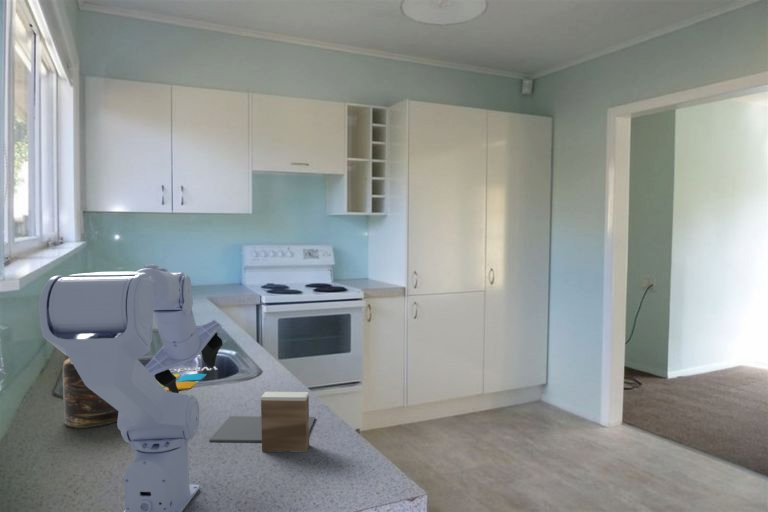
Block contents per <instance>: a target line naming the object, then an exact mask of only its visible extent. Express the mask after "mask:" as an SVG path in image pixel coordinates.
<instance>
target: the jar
mask: <svg viewBox="0 0 768 512" xmlns="http://www.w3.org/2000/svg"><path fill="white" fill-rule="evenodd" d="M62 397H63V415H64V425H66V426H67V427H70V428H77V429H84V428H85V429H86V428H97V427H102V426H106V425H107V426H108V425H110V424H114V423H117V420H118V413H119V411H118V410H116V409H115V408H114V407H113V406H111V405H110V404H109V403H107V402H106V401H105V400H103V399H102V398H101V397H99V396H98V395H97V394H95V393H94V392H93V391H92V390H90V389H89V388H88V387H87V386H86V385H85V384H84V382H83V381H82V379H81V377H80V375H79V374H78V372H77V370H76V369H75V367H74V365H73V363H72V362H71V360H70V358H69V357H68V358H67V359H65V360H64V361H63V362H62Z"/></svg>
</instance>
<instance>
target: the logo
mask: <svg viewBox="0 0 768 512" xmlns="http://www.w3.org/2000/svg"><path fill="white" fill-rule="evenodd" d="M208 367H209V366H208ZM208 367H207V366H204V367H202V368H201V367H197V366H196V367H194V369H191V367H187V368H185V367H184V368H183V367H182V368H178V369H176V368H170V369H169V370H170V372H171V373H172V374H173V375H174V376H175V377H176V386H177V388H178V391H187V390H191V389H192V388H193V387H195V386H196V384H197V383H198V382H200V381H203V379H204V378H205V377H206V376H207V375H208V374H207V373H199V372H203V371H204V370H206V371H208V372H209V371H212V370H213V369H214V371H218V368H217V367H216V366H215V365H214V367H213V368H212V369H211V368H210V367H209V368H208ZM187 371H188V372H196V371H197V373H185V372H187ZM176 372H177V373H176ZM174 373H175V374H174ZM182 373H184V374H183V375H182ZM180 376H181V377H180ZM177 378H179V379H177ZM159 384H160V383H159ZM160 385H161V384H160ZM161 386H162V387H163V388H164V389H165V390H166V391H167V392H171V391H170V390H169V389H168V387H165V386H163V385H161Z"/></svg>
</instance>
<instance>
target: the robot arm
mask: <svg viewBox="0 0 768 512" xmlns="http://www.w3.org/2000/svg"><path fill="white" fill-rule="evenodd" d="M193 301H194V300H193V294H192V282H191V277H190V275H185V273H184V272H169V271H168V269H167V268H165V267H163V268H160V267H159V265H158V264H157V265H156V264H145V265H144V268H141V269H138V270H137V271H129V270H128V271H97V272H95V271H94V272H84V273H75V274H74V273H73V274H69V275H68V276H64V275H55V276H51V277H50V278H49V279H48V280H47V282H46V283H45V284H44V286H43V287H42V289H41V292H40V294H39V298H38V316H39V325H40V326H39V327H40V330H41V335H42V337H43V338H44V339H45V340H46V341H47V342H49V343H50V344H51V345H52V346H54V347H55V348H56V349H57V350H59V351H60V352H61V353H62V354H64V355H65V356H67V357H68V358H70V360H71V362H72V363H73V365H74V367H75V369H76V370H77V372H78V374H79V375H80V377H81V379H82V381H83V382H84V384H85V385H86V386H87V387H88V388H89V389H90V390H92V391H93V392H94V393H95V394H97V395H98V396H99V397H101V398H102V399H103V400H105V401H106V402H107V403H109V404H110V405H111V406H113V407H114V408H115V409H116V410H118V411H119V413H118V420H117V422H116V425H117V429H118V430H119V431H120V434H121V437H122V439H123V440H124V442H126V443H128V444H130V449H131V450H134V457H133V460H132V462H131V463H130V464H129V466H128V467H127V468H126V471H125V473H124V477H123V478H124V479H123V480H124V482H123V483H124V485H123V486H124V488H123V489H124V509H125V510H124V511H123V512H183V511H184V510H185V508H186V507H187V506H188V504H189V503H190V502H191V500H192V499H193V498H194V497H195V495H196V494H197V493H198V491H199V490H200V488H201V486H200V484H190V456H189V455H190V453H189V441H190V440H192V439H193V438H194V437H195V436H196V435H197V433H198V429H199V425H200V424H199V423H200V403H199V400H198V398H197V397H196V396H195V395H194V394H189V395H188V394H186V393H185V394H184V393H180V392H179V391H180V390H179V391H178V388H177V386H176V381H177V378H176V377H175V376H174V375H173V374H174V373H171V372H170V370H169V369H174V368H175V367H176V368H177V367H179V366H181V365H184V364H187V363H189V362H192V361H193V360H195V359H196V358H197V357H198V356H199V355H200V353H201V356H202V359H203V362H204V364H206V365H207V366H208V367H209V369H210V368H211V369H212V368H213V367H214V366H215V364H216V359H217V355H218V353H219V350H221V347H223V343H224V342H223V340H222V338H221V337H220V336H218V335H220V334H222V333H223V328H222V327H223V326H222V324H220V322H218V321H217V320H216V319H212V320H211V321H209V322H207V323H205V324H202V325H199V326H197V324H196V320H195V317H194V313H193V306H194V303H193ZM154 322H155V325H156V328H157V331H158V334H159V337H160V339H161V343H162V346H161V348H160V349H159V350H158V351H157V352H156V353H155V355H154V356H153V357H152V358H151V359H150V361H148V363H147V364H146V365H144V364H142V362H141V361H140V360H139V359H140V358H142V357H143V356H145V355H147V354H149V353H150V352H151V343H152V341H153V330H154V329H153V327H154V326H153V324H154ZM213 369H214V368H213ZM213 369H212V370H213ZM159 383H160V384H161V385H163V386H165V387H164V388H163V387H162V386H161V385H160V384H159ZM167 387H168V389H169V390H170V391H166V390H165V389H166V388H167Z"/></svg>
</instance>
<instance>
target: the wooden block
mask: <svg viewBox="0 0 768 512" xmlns="http://www.w3.org/2000/svg"><path fill="white" fill-rule="evenodd" d="M309 402H310V401H309V391H264V393H263V394H262V395H261V397H260V407H261V409H260V411H261V414H260V417H261V425H262V442H261V452H262V451H264V452H265V451H271V452H270V453H277V452H278V451H281V452H280V453H288V452H287V451H301V452H300V453H307V452H308V449H309V447H310V432H309V417H310V412H309V411H310V404H309ZM308 446H309V447H308ZM272 451H274V452H272ZM275 451H276V452H275ZM283 451H284V452H283ZM285 451H286V452H285ZM303 451H304V452H303ZM306 451H307V452H306ZM264 452H263V453H264ZM265 453H266V452H265Z"/></svg>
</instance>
